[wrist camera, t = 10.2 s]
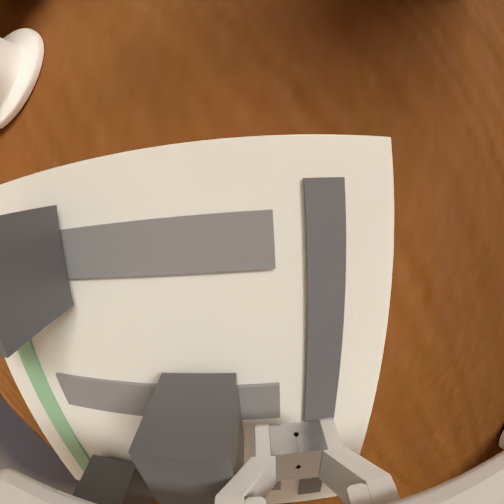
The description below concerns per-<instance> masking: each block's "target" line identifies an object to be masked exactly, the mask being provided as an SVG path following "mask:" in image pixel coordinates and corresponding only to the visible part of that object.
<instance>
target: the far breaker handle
mask: <svg viewBox="0 0 504 504" xmlns="http://www.w3.org/2000/svg"><path fill="white" fill-rule="evenodd" d="M73 496H75V497H78V498H81V499H84V500H87V501H90V502H93V503H97V504H154V501H155V497H154V495H153V494H152V492H151V491H150V489H149V487H148V486H147V484H146V483H145V481H144V479H143V478H142V476H141V474H140V473H139V471H138V469H137V468H136V466H135V464H134V463H132V462H126V461H121V460H116V459H111V458H107V457H102V456H98V455H94V454H93V455H92V457H91V459H90V461H89V463H88V465H87V467H86V469H85V471H84V473H83V475H82V477H81V479H80V481H79V483H78V485H77V487H76V489H75V491H74V493H73Z"/></svg>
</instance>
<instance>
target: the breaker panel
mask: <svg viewBox="0 0 504 504" xmlns="http://www.w3.org/2000/svg"><path fill="white" fill-rule="evenodd" d="M52 205H57V214H58V222H59V230H60V237H61V243H62V249H63V255H64V261H65V266H66V271H67V276H68V281H69V285H70V290H71V294H72V298H73V302H74V305H73V306H72V307H71V308H69V309H68V310H67V311H65V312H64V313H63V314H61V315H60V316H59V317H58V318H56V319H55V320H54V321H53V322H51V323H50V324H49V325H47V326H46V327H45V328H44V329H42V330H41V331H40V332H39V333H37V334H36V335H35V336H34V337H33V338H31V339H30V340H29V341H28V342H26V343H25V344H24V345H23V346H22V347H20V348H19V349H18V350H17V351H16V352H14V353H13V354H12V355H11V356H10V357H9V358H5V360H6V362H7V365H8V367H9V369H10V371H11V374H12V376H13V378H14V380H15V382H16V384H17V386H18V388H19V390H20V392H21V394H22V396H23V398H24V400H25V402H26V404H27V406H28V408H29V410H30V411H31V413H32V415H33V417H34V418H35V420H36V422H37V424H38V425H39V427H40V428H41V430H42V432H43V433H44V435H45V437H46V438H47V440H48V441H49V443H50V444H51V446H52V447H53V449H54V450H55V452H56V453H57V455H58V456H59V457H60V459H61V460H62V462H63V463H64V464H65V466H66V467H67V468H68V469H69V471H70V472H71V474H72V475H73V476H74V477H75V479H77V480H80V479H81V477H82V475H83V473H84V471H85V469H86V467H87V465H88V463H89V461H90V459H91V457H92V455H93V454H94V455H98V456H102V457H107V458H111V459H116V460H121V461H126V462H132V463H134V462H133V461H132V459H131V457H130V455H129V453H128V451H129V449H130V446H131V444H132V441H133V439H134V437H135V434H136V432H137V429H138V427H139V425H140V422H141V420H142V418H143V415H144V413H145V411H146V408H147V406H148V404H149V401H150V399H151V397H152V394H153V392H154V390H155V387H156V385H157V383H158V381H159V378H160V376H161V374H162V373H236V374H237V383H238V391H239V399H240V407H241V415H242V423H243V430H244V464H245V463H246V462H247V461H248V460H249V459H250V457H255V429H254V428H255V425H261V424H268V425H269V424H279V423H292V422H300V421H309V420H316V419H318V420H319V419H323V418H330V417H332V418H333V419H334V423H335V426H336V429H337V432H338V435H339V438H340V441H341V444H342V447H348V448H349V449H351V450H352V451H354V452H355V453H357V454H358V455H360V452H361V449H362V445H363V442H364V438H365V434H366V431H367V427H368V423H369V419H370V415H371V411H372V407H373V402H374V398H375V393H376V388H377V384H378V379H379V373H380V368H381V362H382V356H383V350H384V344H385V337H386V330H387V322H388V313H389V304H390V294H391V282H392V268H393V247H394V181H393V161H392V147H391V137H380V136H362V135H327V134H304V135H269V136H250V137H236V138H224V139H213V140H203V141H194V142H186V143H178V144H171V145H164V146H157V147H151V148H145V149H139V150H133V151H128V152H122V153H117V154H112V155H107V156H102V157H98V158H93V159H89V160H84V161H80V162H76V163H72V164H68V165H64V166H60V167H56V168H53V169H49V170H46V171H42V172H39V173H35V174H32V175H29V176H25V177H22V178H19V179H16V180H13V181H10V182H7V183H4V184H1V185H0V215H4V214H9V213H14V212H19V211H24V210H30V209H35V208H41V207H46V206H52ZM333 496H338V495H336V494H335V493H334V492H333V491H332V490H331V489H330V488H329V487H328V486H327V485H326V484H324V483H323V482H322V481H321V480H320V479H319V477H314V478H305V479H295V480H287V481H277V482H276V484H275V485H274V487H273V488H272V490H271V491H270V493H269V494H268V496H267V497H266V504H278V503H290V502H299V501H307V500H315V499H321V498H327V497H333ZM155 499H156V498H155Z"/></svg>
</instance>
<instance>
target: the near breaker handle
mask: <svg viewBox="0 0 504 504" xmlns="http://www.w3.org/2000/svg"><path fill="white" fill-rule="evenodd" d="M73 305H74V302H73V298H72V294H71V290H70V285H69V281H68V276H67V271H66V266H65V261H64V255H63V249H62V243H61V237H60V230H59V222H58V214H57V205H52V206H46V207H41V208H35V209H30V210H24V211H19V212H14V213H9V214H4V215H0V356H1V357H5V358H9V357H10V356H11V355H12V354H13V353H14V352H16V351H17V350H18V349H19V348H20V347H22V346H23V345H24V344H25V343H26V342H28V341H29V340H30V339H31V338H33V337H34V336H35V335H36V334H37V333H39V332H40V331H41V330H42V329H44V328H45V327H46V326H47V325H49V324H50V323H51V322H53V321H54V320H55V319H56V318H58V317H59V316H60V315H61V314H63V313H64V312H65V311H67V310H68V309H69V308H71V307H72V306H73Z"/></svg>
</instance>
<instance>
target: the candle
mask: <svg viewBox="0 0 504 504" xmlns="http://www.w3.org/2000/svg"><path fill="white" fill-rule="evenodd" d="M43 55H44V45H43V41H42V38H41V36H40V35H39V34H38V33H37V32H36V31H34V30H32V29H29V28H22V29H18V30H15V31H13V32H11V33H10V34H8V35H7V36H5V37H4V38H0V129H1V128H3V127H4V126H6V125H7V124H8V123H9V122H10V121H11V120H12V119H13V118H14V117H15V116H16V115H17V114H18V113H19V111H20V110H21V109H22V107H23V106H24V104H25V103H26V101H27V99H28V98H29V96H30V94H31V92H32V90H33V88H34V86H35V84H36V81H37V79H38V76H39V73H40V70H41V66H42V62H43Z"/></svg>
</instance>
